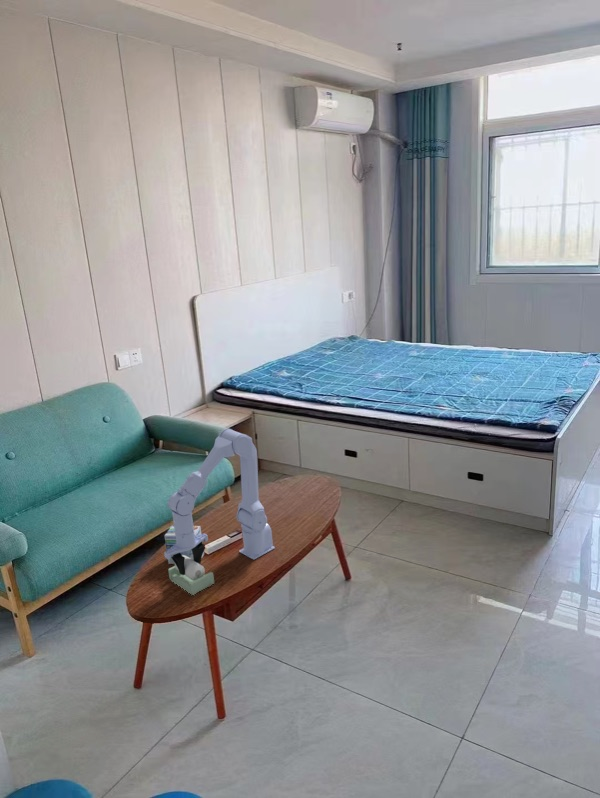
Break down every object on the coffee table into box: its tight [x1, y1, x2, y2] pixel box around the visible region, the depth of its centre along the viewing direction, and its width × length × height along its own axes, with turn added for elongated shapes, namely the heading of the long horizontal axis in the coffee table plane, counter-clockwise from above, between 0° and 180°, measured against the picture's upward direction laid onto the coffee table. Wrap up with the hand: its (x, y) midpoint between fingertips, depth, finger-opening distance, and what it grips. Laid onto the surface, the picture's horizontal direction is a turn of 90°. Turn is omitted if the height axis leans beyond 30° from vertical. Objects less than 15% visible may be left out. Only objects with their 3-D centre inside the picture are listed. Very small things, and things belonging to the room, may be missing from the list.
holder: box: [167, 565, 215, 596], centre depth 182 cm, size 13×8×4 cm, turn 44°
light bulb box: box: [164, 525, 205, 565], centre depth 195 cm, size 11×7×11 cm, turn 82°
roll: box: [174, 555, 206, 581], centre depth 182 cm, size 9×5×5 cm, turn 44°
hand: (190, 569), depth 182 cm, fingers closed on roll, 5 cm apart
